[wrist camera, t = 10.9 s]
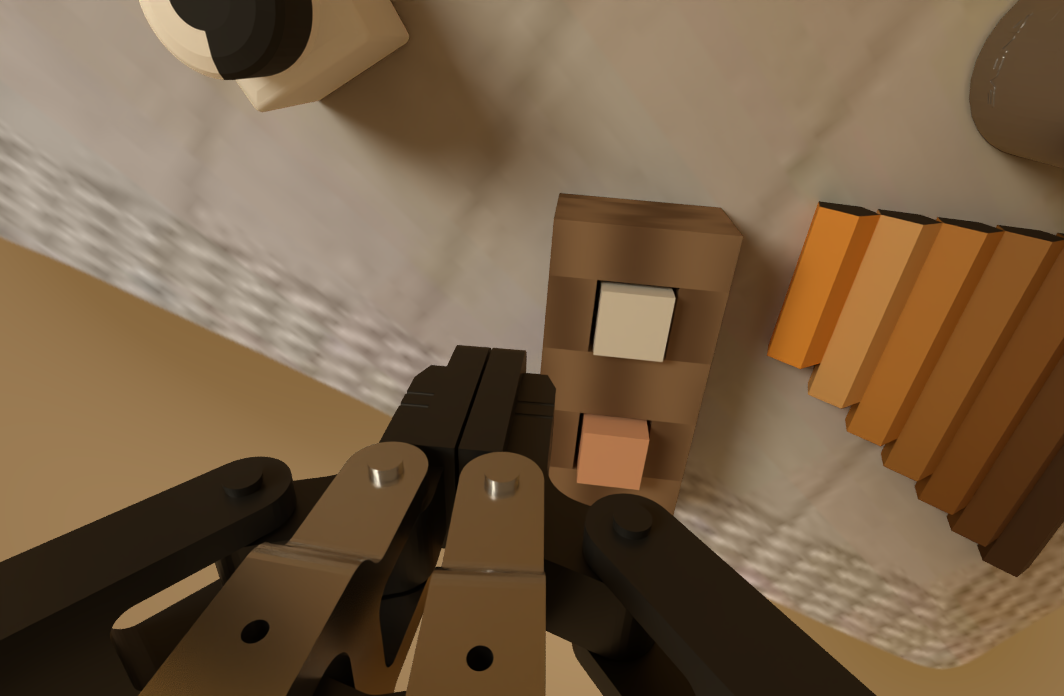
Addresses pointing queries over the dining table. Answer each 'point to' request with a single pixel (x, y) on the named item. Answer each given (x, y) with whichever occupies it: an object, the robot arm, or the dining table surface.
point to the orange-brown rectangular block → (611, 451)
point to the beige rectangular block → (632, 320)
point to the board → (620, 383)
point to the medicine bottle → (278, 43)
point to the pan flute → (942, 362)
